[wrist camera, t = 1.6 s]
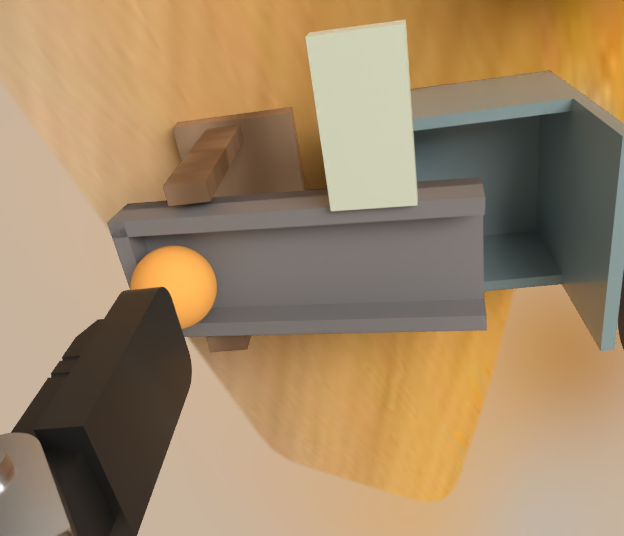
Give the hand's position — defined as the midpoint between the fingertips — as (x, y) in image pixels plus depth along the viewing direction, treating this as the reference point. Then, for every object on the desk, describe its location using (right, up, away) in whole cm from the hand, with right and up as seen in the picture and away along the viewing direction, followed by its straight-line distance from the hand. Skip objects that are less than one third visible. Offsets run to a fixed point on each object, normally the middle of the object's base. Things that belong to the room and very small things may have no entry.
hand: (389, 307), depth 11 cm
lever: (-2, +5, +17) cm, 18 cm away
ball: (-8, 0, +18) cm, 19 cm away
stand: (-6, +5, +27) cm, 28 cm away
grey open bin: (+8, +7, +25) cm, 27 cm away
